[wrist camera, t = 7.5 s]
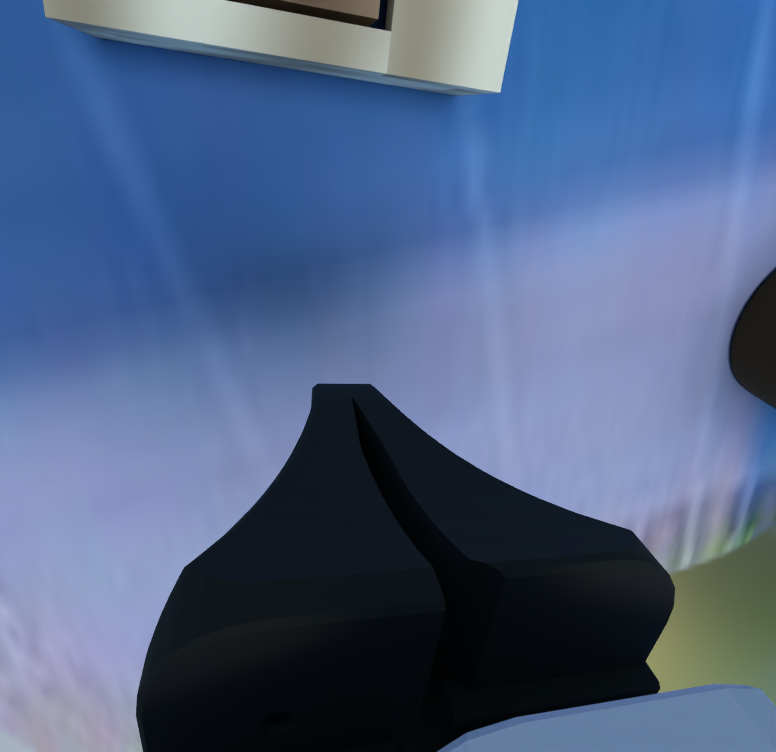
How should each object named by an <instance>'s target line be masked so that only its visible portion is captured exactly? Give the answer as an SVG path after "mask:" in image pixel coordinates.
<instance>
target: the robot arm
mask: <svg viewBox="0 0 776 752" xmlns="http://www.w3.org/2000/svg"><path fill="white" fill-rule="evenodd" d="M674 595H675V587H674V584H673V582H672V580H671V577H670V575H669V574H668V573H667V571H666V570H665V569H664V568H663V567H662V566H661V564H660V563H659V562H658V561H657V560H656V559H655V557H654V556H653V555H652V554H651V553H650V552H649V550H648V549H647V548H646V547H645V546H644V544H643V543H642V542H641V541H640V540H639V539H638V537H637V536H636V535H635V534H634V533H633V532H632V531H631V530H628V529H625V528H622V527H619V526H616V525H612V524H609V523H606V522H603V521H600V520H597V519H593V518H590V517H587V516H584V515H581V514H578V513H575V512H572V511H569V510H567V509H564V508H562V507H559V506H557V505H554V504H552V503H549V502H546V501H544V500H541V499H539V498H537V497H534V496H532V495H530V494H528V493H525V492H523V491H521V490H519V489H517V488H515V487H513V486H511V485H509V484H507V483H505V482H503V481H501V480H499V479H497V478H495V477H493V476H491V475H489V474H487V473H486V472H484V471H482V470H480V469H478V468H477V467H475V466H474V465H472V464H470V463H469V462H467V461H465V460H464V459H462V458H461V457H459V456H457V455H456V454H454V453H453V452H451V451H450V450H448V449H447V448H446V447H444V446H443V445H442V444H440V443H439V442H438V441H436V440H435V439H433V438H432V437H431V436H429V435H428V434H427V433H426V432H424V431H423V430H422V429H421V428H419V427H418V426H417V425H416V424H415V423H413V422H412V421H411V420H410V419H409V418H408V417H406V416H405V415H404V414H403V413H402V412H401V411H400V410H399V409H397V408H396V407H395V406H394V405H393V404H392V403H391V402H390V401H389V400H388V399H387V398H385V397H384V396H383V395H382V394H381V393H380V392H379V391H378V390H377V389H376V388H375V387H373V386H372V385H371V384H317V385H316V386H314V387H313V388H312V404H311V410H310V414H309V416H308V419H307V422H306V425H305V427H304V430H303V432H302V434H301V436H300V438H299V440H298V442H297V444H296V446H295V448H294V450H293V452H292V454H291V455H290V457H289V459H288V460H287V462H286V464H285V465H284V467H283V468H282V470H281V471H280V473H279V474H278V476H277V477H276V479H275V480H274V481H273V482H272V484H271V485H270V486H269V488H268V489H267V490H266V491H265V493H264V494H263V495H262V496H261V498H260V499H259V500H258V501H257V502H256V503H255V505H254V506H253V507H252V508H251V509H250V510H249V511H248V512H247V513H246V514H245V515H244V516H243V517H242V518H241V519H240V520H239V521H238V522H237V523H236V524H235V525H234V526H233V527H232V528H231V529H230V530H229V531H228V532H227V533H226V534H225V535H224V536H223V537H221V538H220V539H219V540H218V541H217V542H215V543H214V544H213V545H212V546H211V547H209V548H208V549H207V550H206V551H204V552H203V553H202V554H201V555H199V556H198V557H197V558H196V559H195V560H193V561H192V562H191V563H189V564H188V565H187V566H185V567H184V569H183V571H182V573H181V574H180V576H179V578H178V580H177V582H176V584H175V586H174V588H173V590H172V592H171V594H170V596H169V598H168V600H167V603H166V605H165V607H164V609H163V611H162V613H161V616H160V618H159V621H158V623H157V626H156V628H155V631H154V634H153V637H152V640H151V642H150V645H149V648H148V651H147V655H146V659H145V663H144V667H143V672H142V676H141V681H140V685H139V689H138V694H137V707H136V717H137V722H138V728H139V733H140V738H141V743H142V748H143V752H776V706H775V705H774V704H773V703H772V702H771V701H770V699H769V698H768V697H767V696H766V694H765V693H764V692H763V691H762V690H761V689H758V688H754V687H750V686H747V685H728V684H726V685H725V684H712V685H705V686H699V687H693V688H688V689H682V690H676V691H670V692H664V693H658V691H659V689H660V685H659V681H658V679H657V678H656V676H655V675H654V674H653V672H652V670H651V669H650V668H649V666H648V665H647V663H646V662H645V661H646V659H647V657H648V656H649V654H650V652H651V650H652V649H653V647H654V645H655V643H656V641H657V640H658V638H659V636H660V634H661V633H662V631H663V629H664V627H665V626H666V624H667V622H668V619H669V616H670V614H671V612H672V609H673V606H674ZM657 693H658V694H657Z"/></svg>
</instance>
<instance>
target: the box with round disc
mask: <svg viewBox="0 0 776 752" xmlns="http://www.w3.org/2000/svg"><path fill="white" fill-rule="evenodd" d="M227 1H232V2H237V3H243V4H248V5H253V6H258V7H264V8H269V9H274V10H280V11H285V12H290V13H296V14H301V15H306V16H312V17H317V18H322V19H327V20H333V21H338V22H343V23H349V24H354V25H359V26H365V27H369V26H371V25H372V24H373V23H374V22H376V21H377V20H378V18H379V8H380V0H227Z"/></svg>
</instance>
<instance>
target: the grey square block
mask: <svg viewBox="0 0 776 752" xmlns="http://www.w3.org/2000/svg"><path fill="white" fill-rule="evenodd" d="M43 4H44V10H45V17H47V18H49V19H52V20H54V21H57V22H59V23H62V24H64V25H67V26H69V27H72V28H74V29H77V30H79V31H81V32H84V33H86V34H89V35H91V36H94V37H97V38H103V39H109V40H115V41H121V42H128V43H134V44H140V45H146V46H152V47H159V48H165V49H171V50H177V51H183V52H189V53H196V54H202V55H208V56H214V57H220V58H227V59H233V60H239V61H245V62H251V63H258V64H264V65H270V66H276V67H282V68H289V69H295V70H301V71H307V72H313V73H319V74H326V75H332V76H338V77H344V78H350V79H357V80H363V81H369V82H375V83H381V84H388V85H394V86H400V87H406V88H412V89H418V90H425V91H431V92H437V93H443V94H449V95H456V96H460V95H474V94H489V93H500V91H501V86H502V80H503V75H504V70H505V65H506V60H507V55H508V50H509V45H510V40H511V35H512V30H513V25H514V20H515V15H516V10H517V5H518V0H388V3H387V12H386V22H385V30H381V29H375V28H370V27H365V26H359V25H354V24H349V23H343V22H338V21H333V20H327V19H322V18H317V17H312V16H306V15H301V14H296V13H290V12H285V11H280V10H274V9H269V8H264V7H258V6H253V5H248V4H243V3H237V2H232V1H227V0H43Z"/></svg>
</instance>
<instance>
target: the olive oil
mask: <svg viewBox="0 0 776 752" xmlns="http://www.w3.org/2000/svg"><path fill="white" fill-rule="evenodd" d="M731 364H732V369H733V372H734V375H735V377H736V379H737V381H738V382H739V383H740V384H741V385H742V386H743V387H744V388H745V389H746V390H747V391H749V392H750V393H752V394H753V395H755V396H756V397H758V398H759V399H761V400H762V401H764V402H766V403H767V404H769V405H770V406H772V407H774V408H775V409H776V271H775V272H774V273H773V274H772V275H771V276H770V277H769V278H768V279H767V280H766V281H765V282H764V283H763V284H762V286H761V287H760V288H759V289H758V291H757V292H756V293H755V295H754V296H753V297H752V299H751V300H750V302H749V303H748V305H747V307H746V308H745V310H744V312H743V314H742V316H741V318H740V320H739V322H738V325H737V327H736V330H735V333H734V337H733V341H732V348H731Z"/></svg>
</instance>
